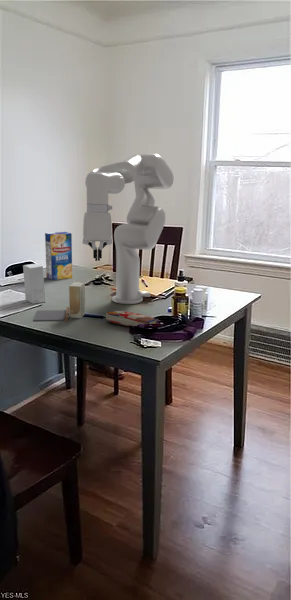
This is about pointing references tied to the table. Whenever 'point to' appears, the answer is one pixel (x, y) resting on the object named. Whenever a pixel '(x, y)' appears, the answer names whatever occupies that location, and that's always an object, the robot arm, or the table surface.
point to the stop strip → (67, 314)
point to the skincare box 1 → (34, 283)
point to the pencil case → (129, 318)
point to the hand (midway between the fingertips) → (97, 260)
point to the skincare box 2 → (77, 299)
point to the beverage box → (58, 255)
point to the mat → (50, 315)
